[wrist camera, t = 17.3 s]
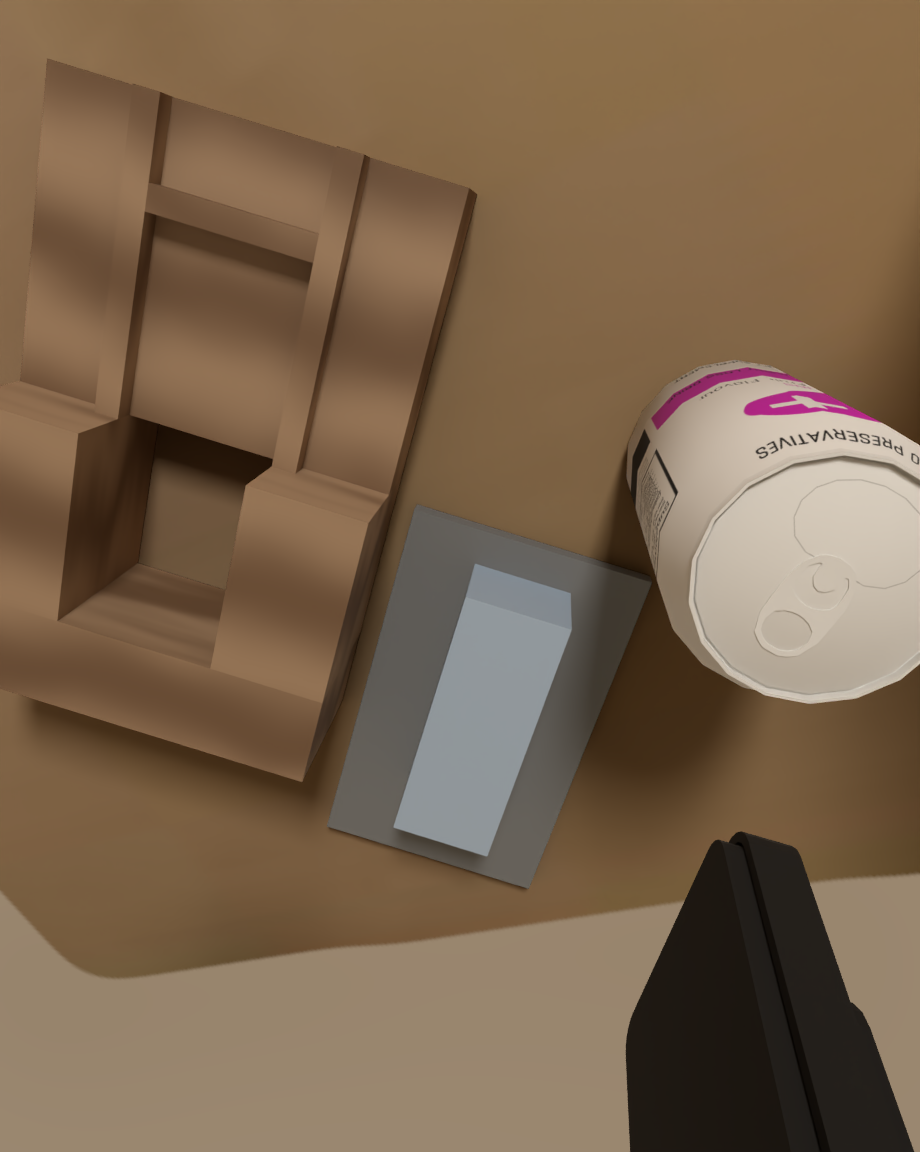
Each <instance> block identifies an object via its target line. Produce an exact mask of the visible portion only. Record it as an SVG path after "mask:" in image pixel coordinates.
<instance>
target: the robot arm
mask: <svg viewBox="0 0 920 1152" xmlns="http://www.w3.org/2000/svg"><path fill="white" fill-rule="evenodd" d="M626 1067H627V1068H626V1069H627V1090H628V1112H629V1134H630V1152H914V1150H913V1147H912V1145H911V1142H910V1139H909V1136H908V1133H907V1130H906V1128H905V1125H904V1122H903V1119H902V1117H901V1114H900V1111H899V1108H898V1105H897V1102H896V1100H895V1097H894V1094H893V1091H892V1088H891V1086H890V1083H889V1080H888V1077H887V1074H886V1071H885V1069H884V1066H883V1063H882V1060H881V1057H880V1055H879V1052H878V1049H877V1046H876V1043H875V1041H874V1038H873V1035H872V1032H871V1029H870V1027H869V1025H868V1023H867V1021H866V1019H865V1017H864V1015H863V1013H862V1012H861V1011H860V1010H859V1009H858V1008H857V1007H856V1006H855V1005H854V1004H853V1003H851V1002H850V1000H849V997H848V994H847V991H846V988H845V985H844V982H843V979H842V976H841V973H840V970H839V967H838V965H837V962H836V959H835V956H834V953H833V950H832V947H831V944H830V941H829V938H828V935H827V932H826V930H825V926H824V924H823V921H822V918H821V915H820V912H819V909H818V906H817V903H816V900H815V897H814V894H813V892H812V889H811V886H810V883H809V880H808V877H807V874H806V871H805V868H804V865H803V862H802V859H801V856H800V855H799V853H798V851H797V849H795V848H794V847H792V846H790V845H786V844H783V843H779V842H776V841H772V840H769V839H766V838H762V837H759V836H755V835H752V834H748V833H745V832H737V833H736V834H735V835H734V836H733V837H732V838H731V839H730V841H729V843H728V842H725V841H721V840H715V841H714V842H713V843H712V844H711V846H710V848H709V850H708V852H707V854H706V856H705V858H704V860H703V863H702V865H701V867H700V869H699V871H698V873H697V876H696V878H695V880H694V882H693V884H692V886H691V889H690V891H689V893H688V895H687V897H686V899H685V902H684V904H683V906H682V908H681V910H680V912H679V915H678V917H677V919H676V921H675V923H674V925H673V928H672V930H671V932H670V934H669V936H668V938H667V941H666V943H665V945H664V947H663V949H662V951H661V954H660V956H659V958H658V960H657V962H656V964H655V967H654V969H653V971H652V973H651V975H650V977H649V980H648V982H647V984H646V986H645V988H644V990H643V993H642V995H641V997H640V999H639V1001H638V1003H637V1006H636V1008H635V1010H634V1012H633V1015H632V1017H631V1020H630V1024H629V1028H628V1033H627V1040H626Z"/></svg>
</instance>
